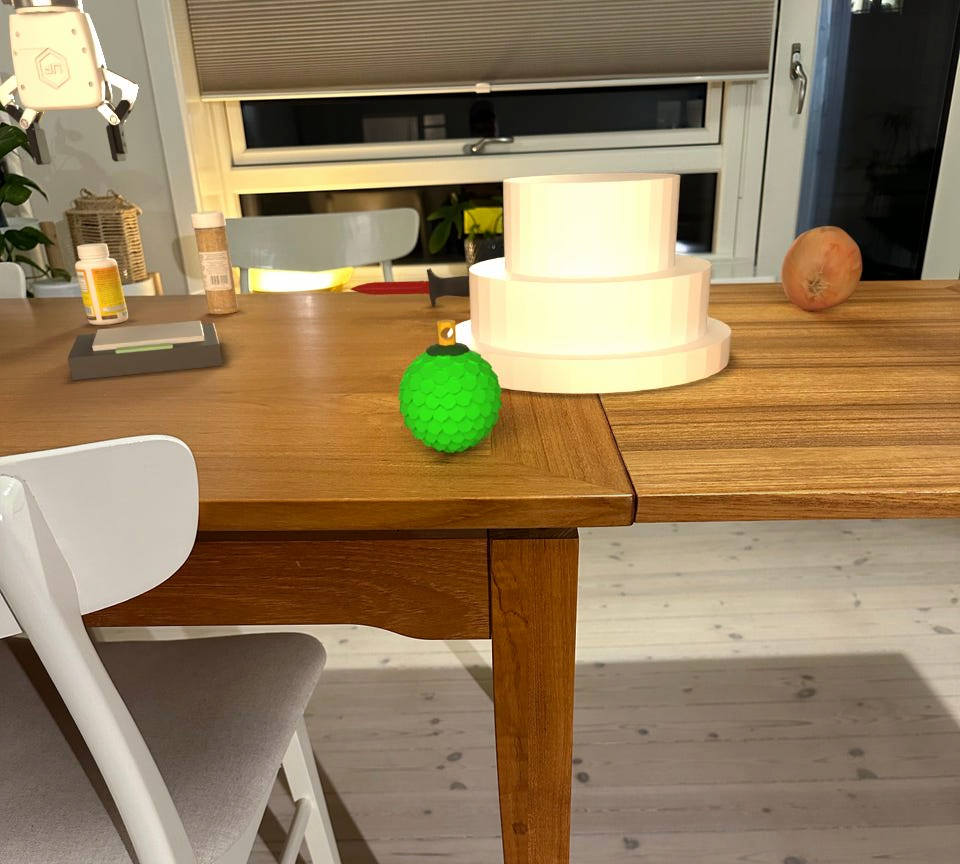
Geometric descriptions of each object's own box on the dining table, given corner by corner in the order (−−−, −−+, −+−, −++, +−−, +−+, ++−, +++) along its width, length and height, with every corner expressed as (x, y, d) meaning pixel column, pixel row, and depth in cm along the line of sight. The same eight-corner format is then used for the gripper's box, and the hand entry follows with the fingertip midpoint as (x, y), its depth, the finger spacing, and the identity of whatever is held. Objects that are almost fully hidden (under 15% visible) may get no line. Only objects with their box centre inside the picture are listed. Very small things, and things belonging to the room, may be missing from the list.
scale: (72, 380, 104) (66, 352, 102) (82, 355, 116) (76, 329, 114) (222, 365, 107) (218, 338, 106) (216, 342, 119) (212, 317, 118)
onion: (852, 303, 126) (864, 221, 121) (859, 317, 118) (872, 229, 113) (776, 303, 128) (784, 223, 124) (777, 317, 120) (787, 231, 115)
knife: (514, 302, 137) (514, 265, 134) (514, 304, 135) (513, 267, 133) (352, 306, 139) (348, 270, 137) (350, 308, 138) (346, 271, 136)
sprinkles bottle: (242, 309, 141) (227, 209, 135) (235, 314, 137) (219, 212, 131) (211, 310, 141) (195, 211, 135) (203, 315, 137) (186, 214, 131)
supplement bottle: (136, 318, 138) (120, 242, 133) (116, 325, 133) (100, 247, 128) (100, 318, 138) (84, 243, 134) (80, 326, 134) (62, 247, 129)
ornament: (494, 432, 80) (490, 308, 76) (511, 461, 73) (508, 327, 69) (398, 440, 79) (388, 315, 75) (406, 470, 72) (396, 335, 68)
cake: (478, 404, 88) (470, 193, 80) (429, 342, 114) (419, 178, 106) (780, 378, 93) (802, 175, 84) (667, 324, 119) (676, 165, 110)
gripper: (-41, 0, 109) (1, 167, 118) (108, -7, 109) (140, 160, 117) (-11, 7, 116) (26, 164, 124) (130, 0, 116) (158, 158, 124)
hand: (81, 162), depth 121 cm, fingers open, 9 cm apart
